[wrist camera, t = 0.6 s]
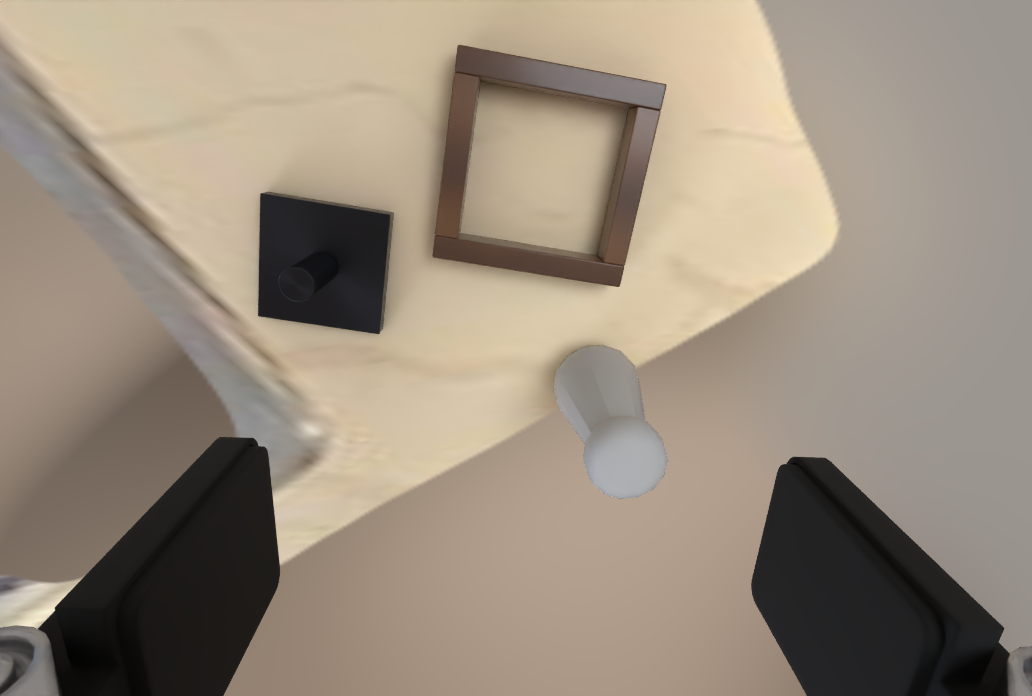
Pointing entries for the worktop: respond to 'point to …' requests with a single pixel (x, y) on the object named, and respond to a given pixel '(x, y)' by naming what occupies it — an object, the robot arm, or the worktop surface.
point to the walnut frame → (626, 183)
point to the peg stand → (323, 262)
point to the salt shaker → (610, 421)
